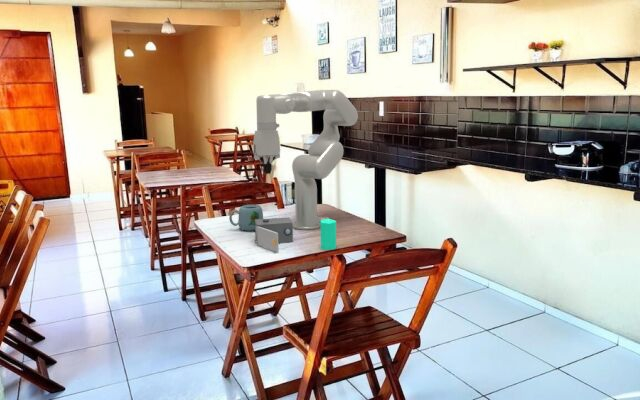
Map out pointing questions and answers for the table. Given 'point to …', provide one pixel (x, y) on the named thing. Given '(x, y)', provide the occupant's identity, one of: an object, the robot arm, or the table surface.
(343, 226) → the table surface
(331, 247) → the candle
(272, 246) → the side door
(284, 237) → the camera body
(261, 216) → the mug
